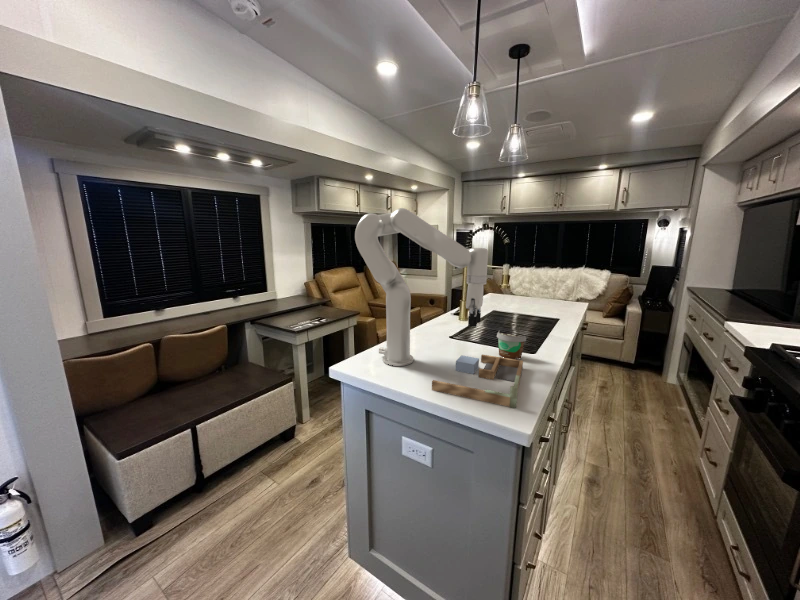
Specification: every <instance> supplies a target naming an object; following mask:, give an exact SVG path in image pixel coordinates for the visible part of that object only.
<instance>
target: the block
mask: <svg viewBox="0 0 800 600" xmlns="http://www.w3.org/2000/svg"><path fill="white" fill-rule="evenodd" d="M479 366H480V358H478V357H474V356H469V355H462V354H461V355H460V356H459V357H458V358H457V359H456V360H455V371H456V372H462V373H466V374H472V375H474V374H475V373H476V372H477V370H479V369H480V368H479Z"/></svg>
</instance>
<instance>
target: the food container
mask: <svg viewBox="0 0 800 600" xmlns="http://www.w3.org/2000/svg"><path fill="white" fill-rule="evenodd" d="M496 338H497V339H498V355H499V357H502V358H503V357H504V358H509V359H515V360H520V359H522V355H523V352H524V345H525V342H526V341H527V337H526V335H523V336H518V335H516V334H512V333H503V332H501V331H500V330H498V332H497V333H496ZM519 358H520V359H519Z"/></svg>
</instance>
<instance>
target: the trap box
mask: <svg viewBox="0 0 800 600" xmlns="http://www.w3.org/2000/svg"><path fill="white" fill-rule="evenodd" d="M480 362H481V363H484V364H485V365H484V367H483V368H481V367H480V368H478V378H482V379H486V380H492V381H494V380H495V379H497V380H502V381H508V382H514V383H513V385H511V386H510V388H509V389H510V390H509V393H506V392H500V391H496V390H490V389H480V388H474V387H471V386H466V385H462V384H461V385H460V384H454V383H450V382H446V381H440V380H435V379H432V380H431V391H436V392H439V391H440V393H444V392H445V394H448V393H449V394H450V395H453V396H459V397H463V398H467V399H472V400H477V401H482V402H487V403H491V404H495V405H500V406H505V407H509V408H510V409H516V408H517V403H518V401H517V399H518V393H519V387H520V383H521V377H522V372H523V366H524V360H520V359H509V358H503V357H501V356H494V355H488V354H481V356H480Z"/></svg>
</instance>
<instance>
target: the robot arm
mask: <svg viewBox="0 0 800 600" xmlns="http://www.w3.org/2000/svg"><path fill="white" fill-rule="evenodd" d="M354 230H355V231H354V241H355V244H356V247H357V250H358V252H359V254H360V256H361V257H362V258H363V260H364V262H365V264H366V266H367V268H368V269H369V271H370V273H371V274H372V277H373V278H374V280H375V281H376V282H377V283H378V284H379V285H380V286H381V287H382V290H383V291H384V292H385V310H386V311H385V314H386V315H385V317H386V320H385V321H386V323H385V324H386V347H381V346H380V347H379V348H378V354H380V355H383V356H382V361H383V363H384V364H385V365H388V364H389V366H392V365H393V366H392V367H404V366H408V365H411V364H412V363H414V359H415V358H414V356H413V355H411V304H412V303H411V302H412V298H411V297H412V295H411V291H410V288H409V286H408V284H407V283H406V282H405V279H404V278H403V276H402V274H401V272H400V271H399V270H398V268H397V266H396V264H395V263H394V262H393V261H391V260H390V258H389V257H388V255H387V253H386V252H385V250H384V248H383V246H382V245H381V243H380V241H379V237H383V236H389V235H393V234H394V235H395V234H399V233H400V234H402V235H403V236H405V237H407V238H409V239H410V240H411V241H412V242H414V243H416V244H417V245H419V246H420V247H421V248H423V249H425V250H428V251H430V252H432V253H435V255H438V256H439V257H441V258H442V259H444V260H446V261H447V262H448V264H449V265H450V266H453V267H455V268H459V269H463V268H466V270H467V271H466V284H467V285H468V286H467V291H466V300H465V301H466V302H465V303H466V304H465V308H466V309H467V310H469V311H468V317H467V318H468V322H467V323H468V324H467V325H468V327H473V328H475V327H477V326H478V324H477V323H480V322H481V319H482V318H481V317H482V315H481V313H482V312H481V311H482V306H483V302H484V285H486V284H487V279H488V278H487V276H488V261H489V259H488V258H489V251H488V249H487V248H483V247H472V248H467V247H465V246H464V245H462V244H461V243H459V242H457V241H456V240H455V239H453V238H451V237H449V236H448V235H446V234H445V233H444V232H442V231H441V230H439V229H438V228H436V227H434V226H433V225H432V224H430V223H429V222H427V221H425V220H424V219H422V218H421V217H419V216H418V215H416V214H415V213H413V212H412V211H410V210H409V209H407V208H403V207H399V208H397V209H395V210H394V211H393V212H388V213H383V214H377V213H370V212H369V213H366V214H364V215H362V216H361V218H360V220H359V221H358V222H357V225H356V228H355V229H354Z"/></svg>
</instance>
